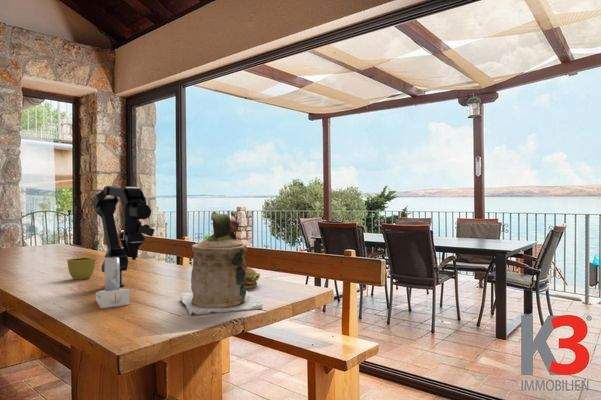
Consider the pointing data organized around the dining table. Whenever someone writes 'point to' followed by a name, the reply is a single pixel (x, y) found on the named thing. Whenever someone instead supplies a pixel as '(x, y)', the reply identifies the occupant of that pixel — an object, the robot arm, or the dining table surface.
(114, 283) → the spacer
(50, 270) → the dining table surface
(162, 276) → the dining table surface
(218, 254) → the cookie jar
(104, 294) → the scale
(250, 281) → the food
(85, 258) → the flower pot
